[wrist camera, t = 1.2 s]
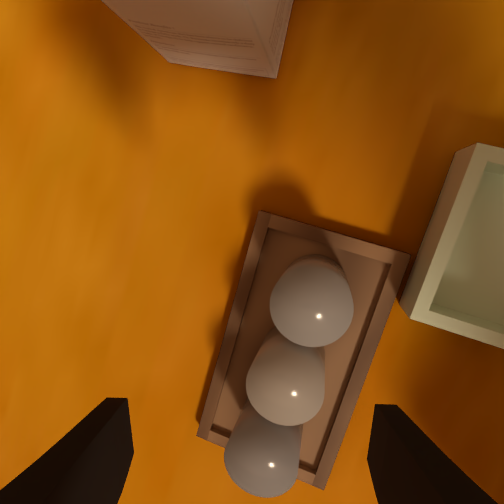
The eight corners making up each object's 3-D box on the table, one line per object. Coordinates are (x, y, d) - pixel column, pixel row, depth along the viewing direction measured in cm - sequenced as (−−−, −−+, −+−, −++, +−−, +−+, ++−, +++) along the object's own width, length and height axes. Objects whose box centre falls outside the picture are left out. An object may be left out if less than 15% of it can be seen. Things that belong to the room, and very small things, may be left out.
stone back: (311, 398, 22) (307, 445, 17) (293, 450, 22) (285, 509, 18) (253, 375, 22) (234, 416, 18) (237, 427, 23) (216, 478, 19)
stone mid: (333, 334, 21) (335, 368, 17) (314, 391, 22) (310, 437, 17) (271, 313, 22) (257, 339, 17) (255, 369, 22) (237, 408, 18)
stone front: (357, 265, 20) (365, 281, 16) (336, 327, 21) (338, 358, 16) (292, 245, 21) (282, 255, 16) (274, 306, 21) (260, 330, 17)
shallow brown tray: (408, 253, 20) (411, 255, 19) (324, 480, 23) (323, 490, 22) (261, 210, 21) (258, 210, 21) (200, 428, 24) (196, 435, 23)
